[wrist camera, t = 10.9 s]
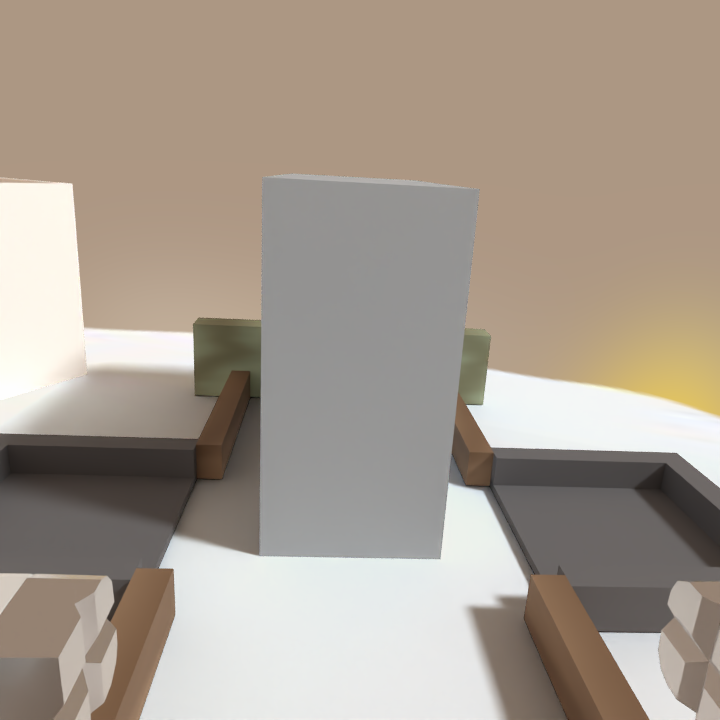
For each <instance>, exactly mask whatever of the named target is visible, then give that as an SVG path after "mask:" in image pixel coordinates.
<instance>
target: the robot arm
mask: <svg viewBox="0 0 720 720" xmlns="http://www.w3.org/2000/svg"><path fill="white" fill-rule="evenodd" d="M113 603H114V594H113V586H112V581H111V580H110V578H109V577H108V576H97V575H63V574H34V575H33V574H16V573H0V720H91V713H92V712H93V711H94V710H96V709H97V708H98V707H99V706H101V705H102V704H103V703H104V702H105V699H106V697H107V694H108V691H109V689H110V686H111V683H112V679H113V674H114V670H115V665H116V658H117V630H116V628H115V627H114V626H113V624H112V623H111V622H110V621H109V620H108V619H107V616H108V614H109V612H110V610H111V608H112V606H113ZM667 605H668V606H669V608H670V610H671V612H672V613H673V615H674V618H673V619H672V620H671V621H670V622H669V623H668V624H667V625H666V626H665V627H664V628H663V629H662V630H661V636H660V642H659V647H658V652H659V659H660V667H661V671H662V673H663V676H664V678H665V681H666V683H667V685H668V687H669V689H670V690H671V692H672V693H673V695H674V696H675V698H676V699H677V700H678V701H679V702H681V703H682V704H684V705H685V706H687V707H688V708H690V709H691V710H693V711H694V712H696V719H695V720H720V581H677V582H676V584H675V585H674V586H673V588H672V589H671V592H670V596H669V600H668V604H667Z"/></svg>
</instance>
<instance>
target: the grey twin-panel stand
mask: <svg viewBox="0 0 720 720" xmlns="http://www.w3.org/2000/svg"><path fill="white" fill-rule="evenodd" d="M84 375H87V364H86V352H85V339H84V326H83V314H82V301H81V288H80V275H79V263H78V250H77V237H76V224H75V213H74V199H73V187H72V184H69V183H58V182H47V181H46V182H45V181H34V180H22V179H11V178H0V400H3V399H6V398H9V397H13V396H16V395H19V394H23V393H26V392H30V391H33V390H36V389H40V388H43V387H47V386H50V385H53V384H57V383H60V382H64V381H67V380H70V379H74V378H77V377H81V376H84Z"/></svg>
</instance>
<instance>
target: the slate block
mask: <svg viewBox="0 0 720 720" xmlns="http://www.w3.org/2000/svg"><path fill="white" fill-rule="evenodd" d="M262 181H263V182H262V183H263V184H262V303H261V310H262V311H261V428H260V554H259V556H288V557H345V558H402V559H440V557H441V548H442V538H443V529H444V520H445V510H446V501H447V491H448V482H449V472H450V463H451V454H452V444H453V435H454V425H455V416H456V407H457V397H458V388H459V378H460V369H461V359H462V350H463V341H464V331H465V322H466V312H467V303H468V293H469V284H470V275H471V265H472V255H473V246H474V237H475V227H476V218H477V208H478V198H479V189H474V188H466V187H458V186H451V185H443V184H436V183H429V182H421V181H414V180H394V179H378V178H359V177H340V176H325V175H307V174H285V175H277V176H269V177H263V179H262Z"/></svg>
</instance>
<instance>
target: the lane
mask: <svg viewBox="0 0 720 720" xmlns="http://www.w3.org/2000/svg"><path fill="white" fill-rule="evenodd" d="M193 337H194V376H195V395H206V396H219V398H218V400H217V402H216V404H215V406H214V408H213V410H212V412H211V414H210V416H209V419H208V421H207V423H206V425H205V427H204V429H203V431H202V433H201V435H200V437H199V439H198V441H197V443H196V465H197V479H222V477H223V475H224V472H225V469H226V466H227V463H228V460H229V457H230V454H231V451H232V448H233V446H234V443H235V440H236V437H237V434H238V431H239V428H240V425H241V422H242V419H243V416H244V414H245V411H246V408H247V405H248V402H249V399H250V397H261V320H243V319H219V318H198V319H197V320H196V321H195V323H194V324H193ZM490 340H491V336H490V334H489V333H488V332H487V331H486V330H485V329H466V328H465V331H464V341H463V350H462V359H461V369H460V378H459V388H458V397H457V407H456V416H455V425H454V435H453V444H452V454H453V457H454V459H455V461H456V464H457V466H458V468H459V470H460V473H461V475H462V477H463V480H464V482H465V484H466V485H479V486H490V479H491V471H492V463H493V456H494V452H493V451H492V449H491V447H490V445H489V444H488V442H487V440H486V439H485V437H484V435H483V433H482V432H481V430H480V428H479V427H478V425H477V423H476V421H475V420H474V418H473V416H472V415H471V413H470V411H469V409H468V408H467V406H466V404H479V405H483V399H484V391H485V382H486V374H487V365H488V357H489V349H490ZM174 617H175V595H174V570H173V569H155V568H136V570H135V572H134V574H133V576H132V578H131V580H130V582H129V584H128V586H127V589H126V591H125V593H124V595H123V597H122V599H121V601H120V603H119V605H118V607H117V609H116V611H115V613H114V616H113V618H112V620H111V623H112V624H113V626H114V627H115V628H116V630H117V658H116V665H115V670H114V674H113V679H112V683H111V686H110V689H109V691H108V694H107V697H106V699H105V702H104V703H103V704H102V705H101V706H99V707H98V708H97V709H96V710H94V711H93V712H92V713H91V720H139V718H140V715H141V713H142V710H143V707H144V704H145V701H146V698H147V695H148V692H149V689H150V686H151V684H152V681H153V678H154V675H155V672H156V669H157V666H158V663H159V660H160V657H161V654H162V652H163V649H164V646H165V643H166V640H167V637H168V634H169V631H170V628H171V625H172V623H173V620H174ZM524 620H525V622H526V625H527V627H528V629H529V631H530V634H531V636H532V638H533V641H534V643H535V645H536V648H537V650H538V652H539V654H540V657H541V659H542V661H543V664H544V666H545V668H546V671H547V673H548V675H549V677H550V680H551V682H552V684H553V687H554V689H555V691H556V694H557V696H558V698H559V700H560V703H561V705H562V707H563V710H564V712H565V714H566V717H567V719H568V720H649V718H648V716H647V715H646V713H645V711H644V710H643V708H642V706H641V704H640V703H639V701H638V699H637V698H636V696H635V694H634V692H633V691H632V689H631V687H630V686H629V684H628V682H627V680H626V679H625V677H624V675H623V674H622V672H621V670H620V668H619V667H618V665H617V663H616V662H615V660H614V658H613V656H612V655H611V653H610V651H609V650H608V648H607V646H606V644H605V643H604V641H603V639H602V638H601V636H600V634H599V632H598V631H597V629H596V627H595V626H594V624H593V622H592V620H591V619H590V617H589V615H588V614H587V612H586V610H585V608H584V607H583V605H582V603H581V602H580V600H579V598H578V596H577V595H576V593H575V591H574V589H573V588H572V586H571V584H570V583H569V581H568V579H567V577H566V576H565V575H533V574H531V576H530V582H529V589H528V595H527V601H526V608H525V614H524Z"/></svg>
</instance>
